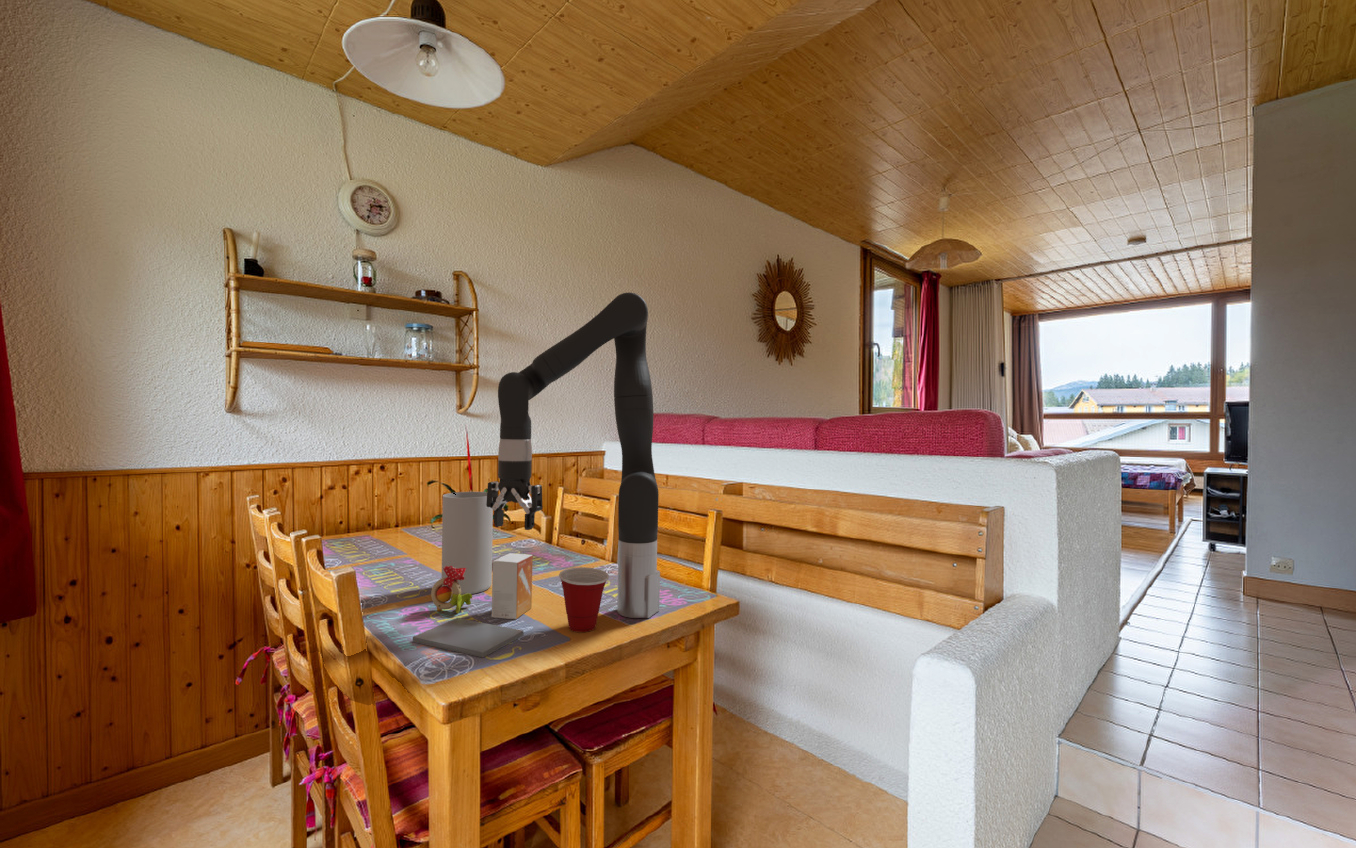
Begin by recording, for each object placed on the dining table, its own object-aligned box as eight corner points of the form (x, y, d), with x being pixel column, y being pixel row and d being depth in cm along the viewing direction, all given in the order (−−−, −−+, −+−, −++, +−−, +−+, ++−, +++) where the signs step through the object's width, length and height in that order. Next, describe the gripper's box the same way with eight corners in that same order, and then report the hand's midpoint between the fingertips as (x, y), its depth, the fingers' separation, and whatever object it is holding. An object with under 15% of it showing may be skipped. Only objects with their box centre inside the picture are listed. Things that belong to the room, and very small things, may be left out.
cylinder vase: (501, 585, 151) (503, 493, 151) (466, 598, 140) (468, 499, 139) (466, 579, 156) (468, 490, 156) (430, 591, 145) (432, 495, 145)
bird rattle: (433, 624, 127) (469, 609, 127) (415, 579, 128) (451, 564, 127) (446, 615, 134) (480, 601, 133) (428, 572, 134) (462, 558, 134)
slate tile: (523, 635, 116) (523, 630, 116) (483, 657, 105) (483, 652, 105) (457, 622, 123) (457, 617, 123) (412, 641, 112) (412, 636, 112)
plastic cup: (587, 641, 114) (588, 583, 114) (547, 630, 119) (548, 575, 119) (618, 625, 123) (619, 571, 123) (579, 615, 129) (580, 564, 129)
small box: (516, 620, 125) (517, 562, 125) (490, 617, 126) (491, 560, 126) (532, 608, 133) (533, 554, 133) (508, 606, 134) (508, 552, 134)
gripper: (550, 459, 130) (548, 528, 131) (501, 456, 136) (500, 522, 136) (530, 461, 124) (528, 533, 124) (479, 458, 129) (478, 527, 129)
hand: (513, 527), depth 130 cm, fingers open, 8 cm apart
